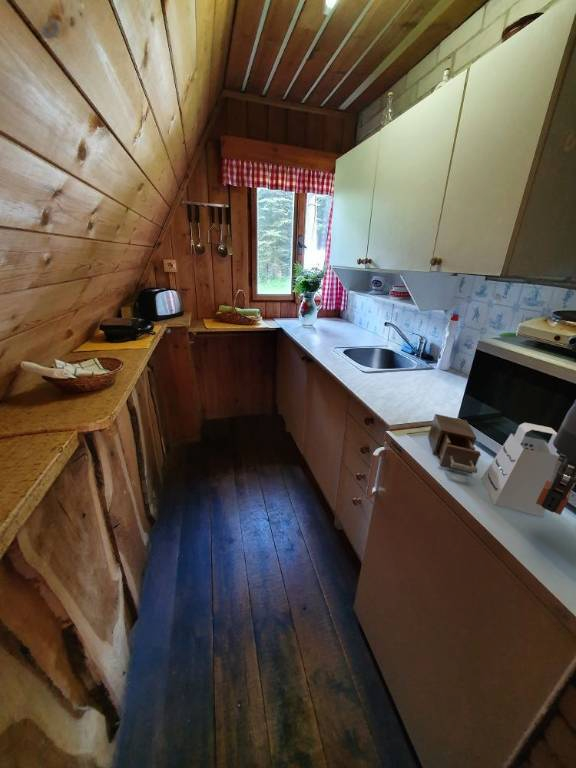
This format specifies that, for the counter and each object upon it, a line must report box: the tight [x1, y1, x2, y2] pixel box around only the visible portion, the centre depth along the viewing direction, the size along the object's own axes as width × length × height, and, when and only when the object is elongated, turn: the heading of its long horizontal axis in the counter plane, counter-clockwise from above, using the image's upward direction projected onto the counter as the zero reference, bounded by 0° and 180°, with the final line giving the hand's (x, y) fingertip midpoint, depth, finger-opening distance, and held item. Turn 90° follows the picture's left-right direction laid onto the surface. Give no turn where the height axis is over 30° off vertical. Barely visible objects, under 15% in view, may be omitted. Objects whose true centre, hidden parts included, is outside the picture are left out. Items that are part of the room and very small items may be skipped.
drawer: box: [438, 433, 481, 475], centre depth 87 cm, size 15×8×7 cm, turn 163°
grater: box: [481, 422, 560, 518], centre depth 75 cm, size 10×10×20 cm
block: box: [536, 480, 572, 516], centre depth 62 cm, size 4×4×4 cm
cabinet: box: [427, 413, 477, 457], centre depth 96 cm, size 12×10×9 cm
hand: (549, 503), depth 63 cm, fingers closed on block, 4 cm apart
